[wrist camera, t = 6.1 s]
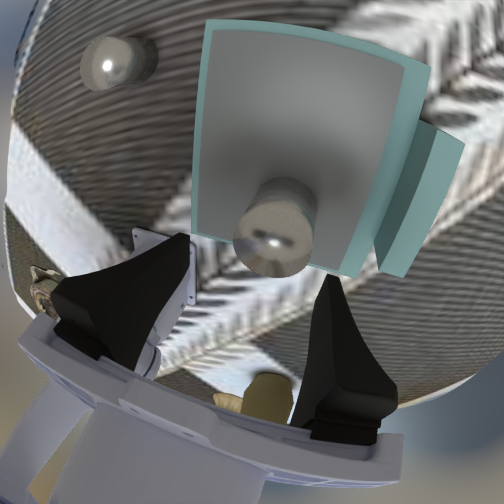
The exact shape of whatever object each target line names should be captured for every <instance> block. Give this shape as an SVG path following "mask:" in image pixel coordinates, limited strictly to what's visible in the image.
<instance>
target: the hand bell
mask: <svg viewBox="0 0 504 504" xmlns="http://www.w3.org/2000/svg"><path fill="white" fill-rule="evenodd" d="M213 398H214V400H215V403H216V406H218V407H221V408H224V409H227V410H230V411H234V412H237V413H240V410H241V406H242V401H243V399H242V398H240V397H238V396H235V395H232V394H228V393H215V394H214V395H213Z"/></svg>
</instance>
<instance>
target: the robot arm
mask: <svg viewBox="0 0 504 504" xmlns="http://www.w3.org/2000/svg"><path fill="white" fill-rule="evenodd" d="M132 234H133V241H134V247H135V251H134V252H133V253H132V254H131V255H130V256H129V257H128V258H127V259H126V260H125V261H124V262H122V263H120V264H117V265H115V266H112V267H109V268H106V269H103V270H100V271H96V272H93V273H88V274H84V275H79V276H73V277H67V278H64V279H63V280H62V281H61V282H60V283H59V284H58V285H57V286H56V287H55V288H54V290H53V291H52V292H51V293H50V299H51V302H52V304H53V306H54V308H55V310H56V312H57V314H58V315H59V317H58V318H57V320H56V321H55V320H54V319H53V318H52V317H50V316H49V315H47V314H46V313H45V312H43V311H41V312H40V313H39V314H38V315H37V317H36V318H35V319H34V320H33V322H32V323H31V324H30V325H29V327H28V328H27V329H26V330H25V332H24V333H23V334H22V335H21V337H20V338H19V339H18V341H17V343H18V345H19V346H20V347H21V348H22V349H23V351H24V352H25V353H26V354H27V355H28V357H29V358H30V359H31V360H32V361H33V362H34V363H35V364H36V366H37V367H39V368H40V369H41V370H42V371H43V372H45V373H46V374H47V375H48V376H49V378H48V380H47V381H46V382H45V384H44V385H43V386H42V388H41V389H40V390H39V392H38V393H37V395H36V396H35V397H34V399H33V400H32V402H31V403H30V404H29V406H28V407H27V409H26V410H25V412H24V413H23V415H22V416H21V418H20V419H19V421H18V422H17V424H16V425H15V427H14V428H13V430H12V432H11V433H10V435H9V436H8V438H7V440H6V441H5V443H4V445H3V446H2V448H1V449H0V504H39V503H38V502H37V501H36V499H35V498H34V497H33V496H32V494H31V493H30V491H29V485H30V484H31V482H32V481H33V479H34V478H35V477H36V475H37V474H38V473H39V471H40V470H41V469H42V468H43V466H44V465H45V464H46V462H47V461H48V460H49V458H50V457H51V456H52V454H53V453H54V452H55V450H56V449H57V448H58V447H59V445H60V444H61V443H62V441H63V440H64V439H65V438H66V436H67V435H68V434H69V432H70V431H71V430H72V429H73V427H74V426H75V425H76V424H77V422H78V421H79V420H80V418H81V417H82V416H83V415H84V414H85V412H86V411H88V410H94V411H93V413H92V415H91V417H90V418H89V420H88V422H87V424H86V426H85V427H84V429H83V431H82V433H81V435H80V436H79V438H78V440H77V442H76V444H75V446H74V448H73V450H72V452H71V454H70V455H69V458H68V459H67V461H66V463H65V465H64V467H63V469H62V471H61V474H60V475H59V477H58V479H57V482H56V484H55V486H54V488H53V490H52V493H51V495H50V497H49V499H48V501H47V504H258V501H259V497H260V494H261V492H262V488H263V485H264V482H265V480H270V481H276V482H282V483H290V484H298V485H307V486H321V487H341V488H372V487H378V486H383V485H388V484H393V483H397V482H399V481H400V476H401V467H402V456H403V440H404V435H403V434H391V433H381V434H377V430H378V428H380V427H381V420H382V419H383V418H385V417H386V416H388V415H390V414H391V413H393V412H394V411H395V410H396V409H397V407H398V392H397V386H396V384H395V383H394V382H393V381H392V380H391V379H390V378H389V376H388V375H387V374H386V373H385V372H384V370H383V369H382V368H381V366H380V365H379V364H378V362H377V361H376V359H375V358H374V356H373V355H372V353H371V352H370V350H369V349H368V347H367V345H366V344H365V342H364V340H363V338H362V336H361V334H360V332H359V330H358V328H357V326H356V324H355V321H354V319H353V317H352V314H351V311H350V309H349V306H348V303H347V301H346V298H345V295H344V292H343V288H342V285H341V282H340V279H339V277H337V276H333V275H330V274H327V275H326V278H325V280H324V282H323V285H322V287H321V289H320V291H319V294H318V296H317V298H316V300H315V304H314V309H313V314H312V319H311V329H310V339H309V349H308V357H307V364H306V368H305V372H304V376H303V381H302V384H301V388H300V392H299V396H298V399H297V402H296V406H295V409H294V412H293V415H292V419H291V422H290V425H289V426H287V425H282V424H278V423H274V422H270V421H266V420H262V419H258V418H254V417H251V416H247V415H244V414H240V413H237V412H234V411H230V410H227V409H224V408H221V407H218V406H215V405H212V404H209V403H206V402H204V401H201V400H198V399H195V398H193V397H190V396H188V395H185V394H183V393H180V392H178V391H175V390H173V389H170V388H168V387H166V386H163V385H161V384H159V383H156V382H154V381H153V380H154V378H155V376H156V375H157V373H158V370H159V368H160V364H161V352H160V350H159V348H157V347H156V346H157V345H158V344H159V343H161V342H163V341H164V340H165V339H166V338H167V337H168V336H169V334H170V332H171V330H172V329H173V327H174V325H175V323H176V322H177V320H178V318H179V317H180V315H181V313H182V311H183V310H184V308H185V306H186V305H187V303H188V304H190V305H195V303H196V248H195V246H194V245H193V244H192V243H190V235H187V234H184V233H180V232H179V233H178V234H176V235H174V236H172V237H167V236H164V235H161V234H157V233H154V232H150V231H147V230H143V229H140V228H137V227H135V228H134V229H133V230H132ZM190 251H191V252H192V253H191V252H190Z"/></svg>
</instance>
